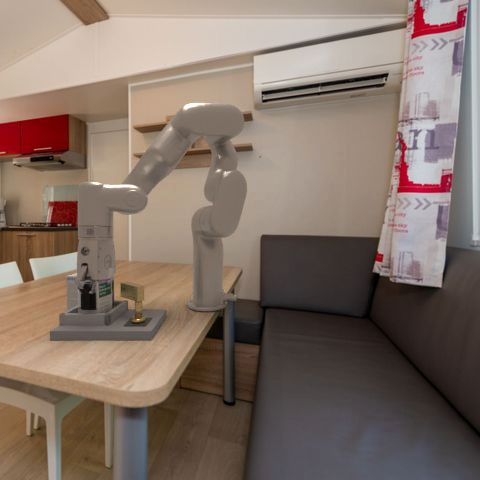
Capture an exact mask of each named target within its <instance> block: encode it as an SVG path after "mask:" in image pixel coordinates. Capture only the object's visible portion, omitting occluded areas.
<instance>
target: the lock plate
mask: <svg viewBox="0 0 480 480" xmlns="http://www.w3.org/2000/svg"><path fill="white" fill-rule="evenodd" d="M114 307H115V308H113V309H112V310H110V311H109V312H108V313H78V305H77V306H75V307H73V308H71V309H69V310H67V309H66V311H63V312H62V313H59V315H58V323H59V324H58V326H56V327H54V328H53V329H51V330H49V340H50V341H152V340H153V338H154V337H155V335H156V334H157V332H158V331H159V329H160V327H161V326H162V325H163V323H164V321H166V318H168V317H167V316H168V314H167V312H168V310H167V309H150V308H149V309H143V308H142V316H145V317H146V320H145V321H144V322H141V323H132V322H131V318H132V317H134V316H135V308H134V309H133V308H132V309H129V299H127V300H123V299H121V300H120V299H117V300H116V299H114Z"/></svg>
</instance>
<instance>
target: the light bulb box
mask: <svg viewBox="0 0 480 480" xmlns="http://www.w3.org/2000/svg"><path fill="white" fill-rule="evenodd" d="M76 277H77V272H75V273H73V274H69V275H66V278H65V279H66V280H65V281H66V283H65V285H66V311H67V310H69V309H71V308H73V307H75V306H77V305H78V287H77V285H76V284H75V282H74V281H75V279H76Z"/></svg>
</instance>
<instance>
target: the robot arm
mask: <svg viewBox="0 0 480 480" xmlns="http://www.w3.org/2000/svg"><path fill="white" fill-rule="evenodd" d="M244 127H245V117H244V114H243V112H242V111H241V110H240V108H238V106H236V105H234V104H233V105H232V104H229V103H214V102H190V103H186V104H184V105H182V107H181V108H179V109H178V111H177V112H176V113H175V114H174V115H173V116H172V117H171V118H170V120H169V121H168V123H167V124H166V125H165V126H164V127H163V129H162V130H161V131H160V132H159V134H158V135H157V136H156V137H155V139H154V140H153V141H152V143H150V145H149V146H148V147H147V148H146V150H145V151H144V152H143V154H142V155H141V156H140V158H139V160H138V162H137V163H136V165H135V166H134V167H133V169H132V170H131V171H130V172H129V173H128V175H127V176H126V177H125V178H124V180H123V181H122V183H121V184H119V183H118V184H117V183H116V184H115V183H114V184H107V183H105V182H99V181H82V182H80V183H79V184H78V186H77V237H78V238H77V239H78V244H77V255H76V273H77V277H76V279H75V281H74V282H75V284H76V285H77V287H78V289H79V293H80V294H81V310H95V309H96V293H94V290H95V281H97V282H99V281H102V280H104V279H106V278H108V273H109V270H108V269H109V268H110V267H113V268H114V275H115V274H116V273H117V266H116V263H117V262H116V250H115V243H114V212H117V213H119V214H120V215H124V216H125V215H126V216H128V215H137V214H139V213H141V212H143V211H144V210H145V209H146V208H147V206H148V201H149V198H148V196H149V195H150V194H151V192H152V190H153V189H154V188H156V186H157V185H158V184H160V183H161V182H162V181H163V180H164V179H165V178H167V177H168V176H169V175H170V174H171V173H172V172H174V170H175V169H176V167H177V166H178V165H179V163H180V162H181V160H182V159H184V157H185V154H187V152H188V151H189V150H190V149H191V147H192V146H193V144H194V143H195V142H196V141H197V140H198V139H200V138H201V137H203V139H204V141H205V142H206V144H207V145H208V147H209V150H210V152H211V161H210V165H209V170H208V172H207V175H206V176H207V177H206V180H205V183H204V185H203V195H204V198H205V199H206V201H208V202H209V203H212V205H206V206H202V207H200V208H198V209H196V211H194V213H193V215H192V217H191V221H190V222H191V228H190V229H191V234H192V235H191V236H192V243H193V244H192V245H193V246H192V247H193V249H192V250H193V251H192V254H193V255H192V298H191V299H189V300H188V301H187V307H188V308H189V309H190V310H193V311H197V312H216V311H221V310H223V309H225V308H227V307H228V301H231V302H236V301H238V300H237V299H238V298H237V297H238V296H237V295H238V294H233V293H231V292H229V293H226V292H225V289H223V288H224V285H223V283H224V244H223V238H228V237H230V236H232V235H233V234H234V233H235V232H236V230H237V229H238V226H239V224H240V220H241V217H242V213H243V210H244V206H245V202H246V197H247V192H248V183H247V181H246V177H245V176H244V174H243V173H242V172H241V171H239V170H238V165H239V157H238V153H237V151H236V148H235V147H234V145H233V142H232V141H231V140H232V139H233V138H236V137H237V136H239V135H240V134H241V133H242V132H243V130H244ZM90 277H91V279H92V280H86V278H90ZM86 283H91V285H90V287H89V285H88V284H86Z"/></svg>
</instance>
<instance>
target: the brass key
mask: <svg viewBox="0 0 480 480" xmlns="http://www.w3.org/2000/svg"><path fill="white" fill-rule="evenodd" d="M120 297H121V298H124V299H127V300H130V301H132V302H133V301H134V309H135V316H134V317H132V318H131V322H132V323H141V322H144V321H145V320H146V317H145V316H142V309H143V301H145V285H143V284H139V283H135V282H132V281H131V282H130V281H123V282H120Z"/></svg>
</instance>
